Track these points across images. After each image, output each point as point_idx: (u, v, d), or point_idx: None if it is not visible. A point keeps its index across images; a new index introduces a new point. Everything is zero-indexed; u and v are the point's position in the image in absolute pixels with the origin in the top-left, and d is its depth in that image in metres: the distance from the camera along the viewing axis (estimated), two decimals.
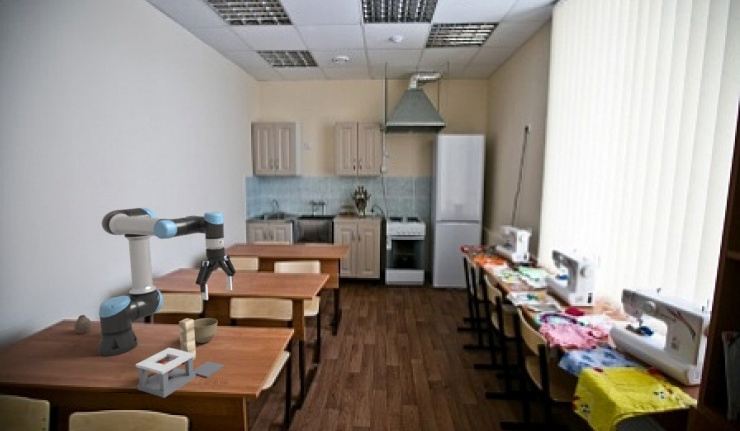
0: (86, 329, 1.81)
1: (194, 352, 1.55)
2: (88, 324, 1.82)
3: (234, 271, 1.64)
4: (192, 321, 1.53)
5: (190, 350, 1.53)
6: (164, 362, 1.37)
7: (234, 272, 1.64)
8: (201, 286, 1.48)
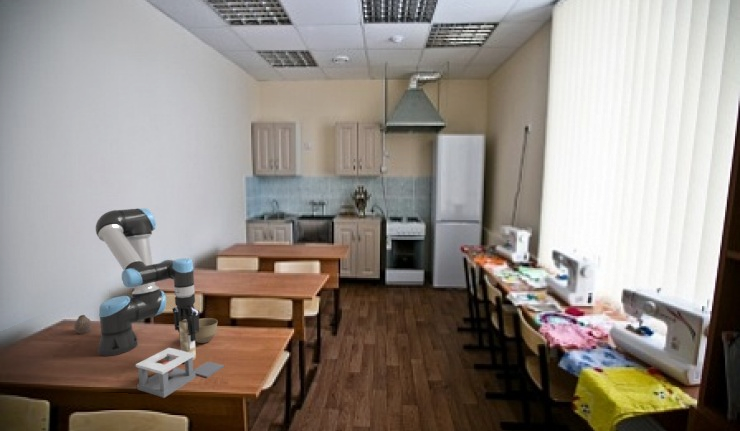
0: (86, 329, 1.81)
1: (194, 352, 1.55)
2: (88, 324, 1.82)
3: (193, 331, 1.50)
4: None
5: (190, 350, 1.53)
6: (164, 362, 1.37)
7: (192, 332, 1.50)
8: None
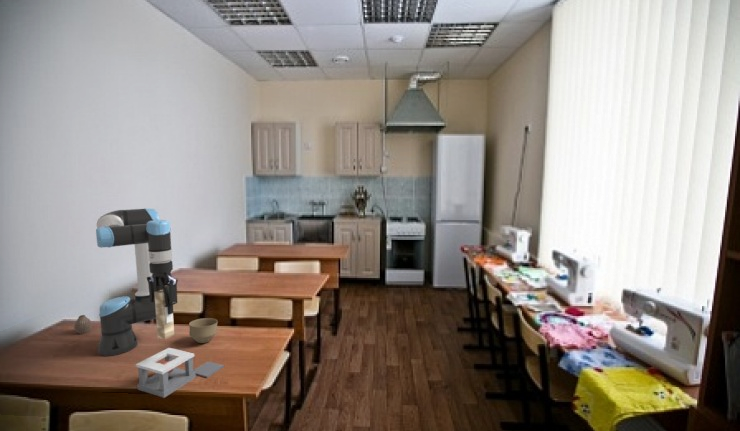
0: (86, 329, 1.81)
1: (172, 327, 1.36)
2: (88, 324, 1.82)
3: (170, 302, 1.31)
4: None
5: (167, 324, 1.34)
6: (164, 362, 1.37)
7: (169, 303, 1.31)
8: None
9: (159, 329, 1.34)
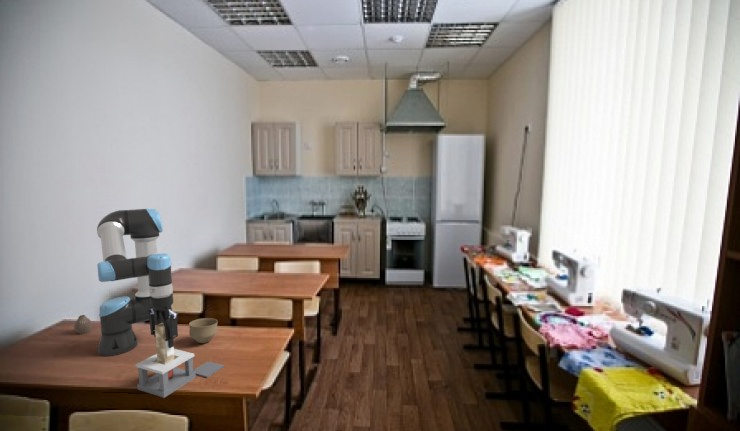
0: (86, 329, 1.81)
1: None
2: (88, 324, 1.82)
3: (170, 336, 1.32)
4: None
5: (168, 358, 1.35)
6: None
7: (170, 337, 1.32)
8: None
9: (159, 362, 1.34)
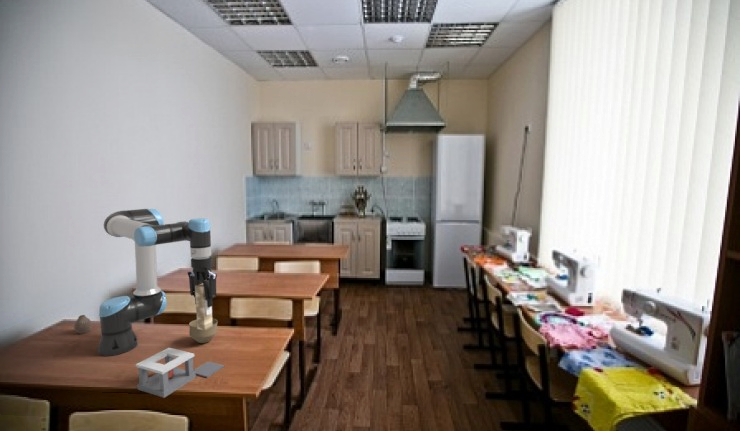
0: (86, 329, 1.81)
1: (211, 319, 1.45)
2: (88, 324, 1.82)
3: (210, 296, 1.40)
4: None
5: (207, 317, 1.43)
6: None
7: (209, 296, 1.40)
8: None
9: (199, 320, 1.42)
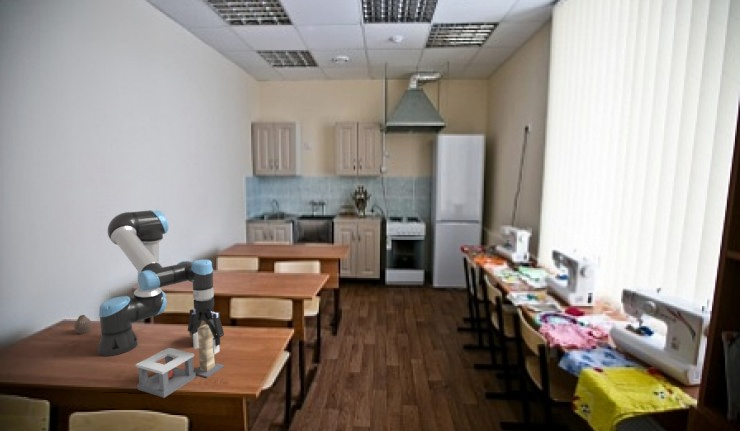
0: (86, 329, 1.81)
1: (213, 360, 1.47)
2: (88, 324, 1.82)
3: (218, 335, 1.41)
4: None
5: (209, 358, 1.45)
6: None
7: (217, 336, 1.41)
8: None
9: (201, 362, 1.44)
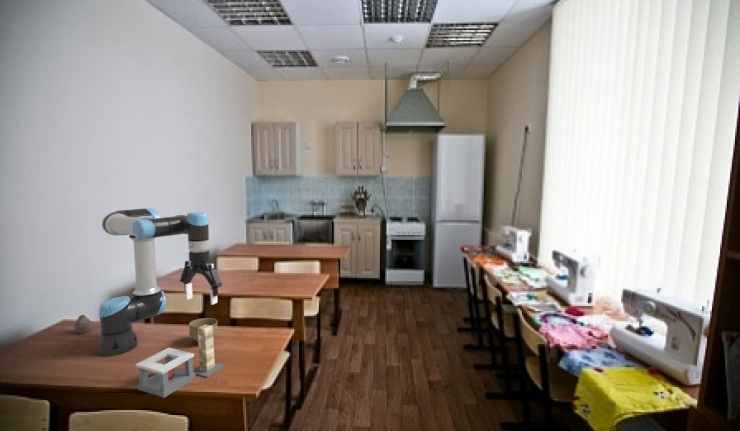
0: (86, 329, 1.81)
1: (213, 360, 1.47)
2: (88, 324, 1.82)
3: (215, 285, 1.39)
4: (211, 327, 1.45)
5: (209, 358, 1.45)
6: None
7: (215, 286, 1.39)
8: None
9: (201, 362, 1.44)
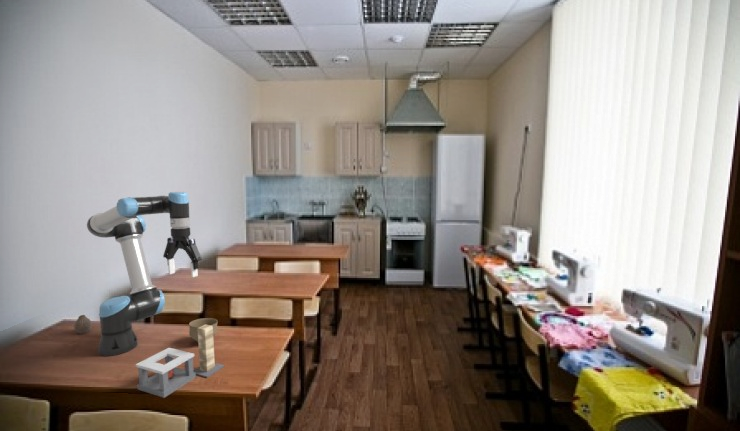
0: (86, 329, 1.81)
1: (213, 360, 1.47)
2: (88, 324, 1.82)
3: (195, 259, 1.50)
4: (211, 327, 1.45)
5: (209, 358, 1.45)
6: None
7: (195, 260, 1.51)
8: None
9: (201, 362, 1.44)
